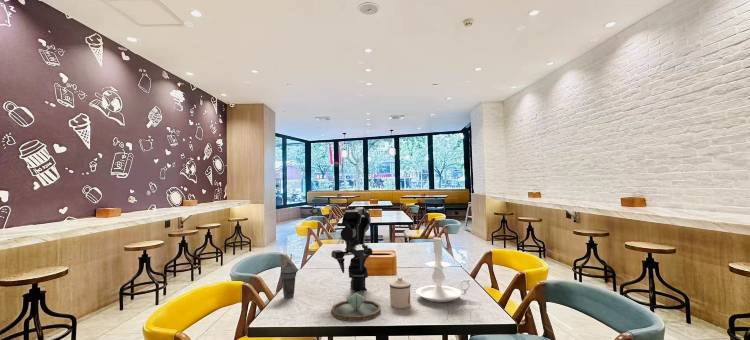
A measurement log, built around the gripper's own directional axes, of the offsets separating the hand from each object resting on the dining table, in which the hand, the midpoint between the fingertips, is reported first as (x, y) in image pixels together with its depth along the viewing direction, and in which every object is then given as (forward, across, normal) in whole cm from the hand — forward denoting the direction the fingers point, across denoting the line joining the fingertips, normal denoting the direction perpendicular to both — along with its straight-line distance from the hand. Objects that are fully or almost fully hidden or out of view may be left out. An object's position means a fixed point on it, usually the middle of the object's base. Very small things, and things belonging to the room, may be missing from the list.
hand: (352, 271), depth 154 cm
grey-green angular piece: (+12, -6, -16) cm, 21 cm away
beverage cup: (+12, -25, +17) cm, 33 cm away
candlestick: (+12, +35, -23) cm, 43 cm away
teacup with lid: (+12, +14, -18) cm, 26 cm away
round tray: (+12, -6, -16) cm, 21 cm away
